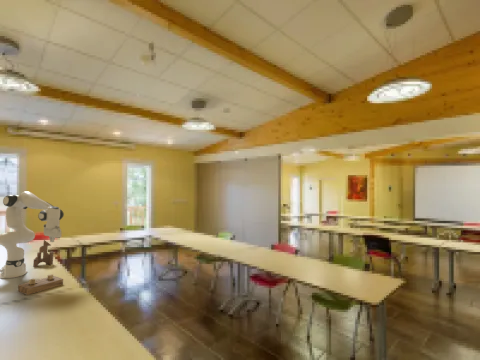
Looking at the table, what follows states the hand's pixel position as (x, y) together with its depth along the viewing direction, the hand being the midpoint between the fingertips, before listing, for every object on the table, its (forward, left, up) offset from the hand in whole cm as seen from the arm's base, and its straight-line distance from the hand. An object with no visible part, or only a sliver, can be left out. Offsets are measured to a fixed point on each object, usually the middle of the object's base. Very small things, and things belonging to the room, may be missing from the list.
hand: (52, 241), depth 212 cm
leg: (+10, -17, -33) cm, 38 cm away
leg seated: (+10, -5, -33) cm, 35 cm away
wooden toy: (-52, +20, -33) cm, 65 cm away
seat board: (+10, -11, -33) cm, 36 cm away
